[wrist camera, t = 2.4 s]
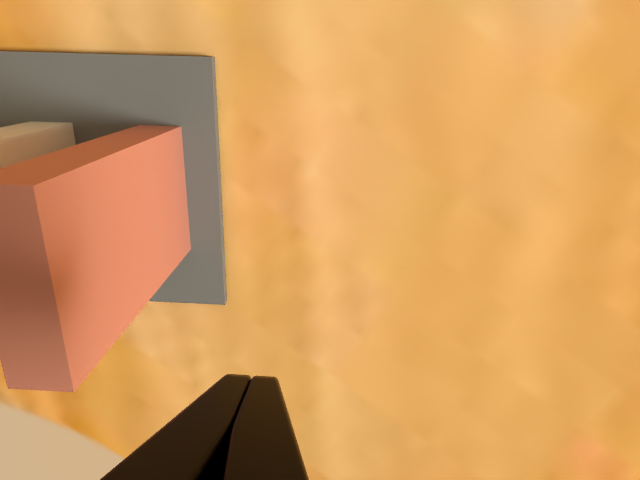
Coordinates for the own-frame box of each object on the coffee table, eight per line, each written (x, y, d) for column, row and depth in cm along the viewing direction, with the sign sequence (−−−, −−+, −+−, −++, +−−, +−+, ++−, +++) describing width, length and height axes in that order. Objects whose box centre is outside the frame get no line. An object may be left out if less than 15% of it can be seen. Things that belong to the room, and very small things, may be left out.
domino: (181, 126, 18) (32, 185, 9) (190, 249, 20) (73, 391, 11) (139, 124, 18) (-46, 182, 9) (152, 247, 20) (8, 388, 11)
